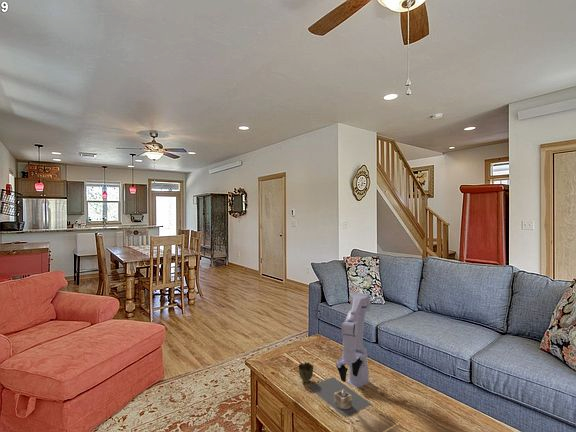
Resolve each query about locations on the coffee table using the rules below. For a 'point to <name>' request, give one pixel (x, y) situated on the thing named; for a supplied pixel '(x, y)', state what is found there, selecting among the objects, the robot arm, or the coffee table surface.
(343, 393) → the post
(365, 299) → the robot arm
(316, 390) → the mat
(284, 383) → the coffee table surface
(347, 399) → the collar
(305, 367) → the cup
